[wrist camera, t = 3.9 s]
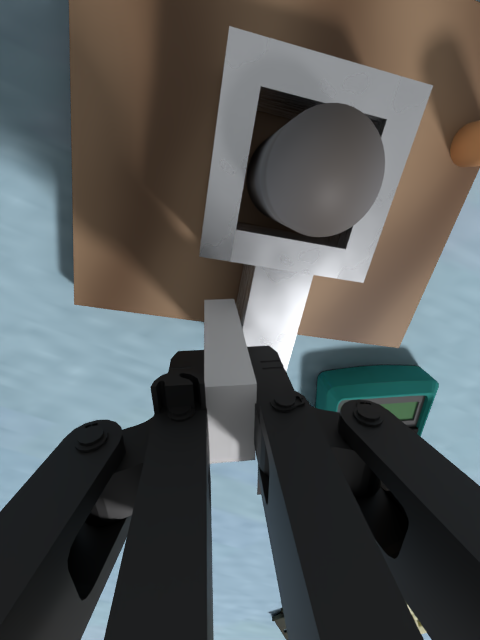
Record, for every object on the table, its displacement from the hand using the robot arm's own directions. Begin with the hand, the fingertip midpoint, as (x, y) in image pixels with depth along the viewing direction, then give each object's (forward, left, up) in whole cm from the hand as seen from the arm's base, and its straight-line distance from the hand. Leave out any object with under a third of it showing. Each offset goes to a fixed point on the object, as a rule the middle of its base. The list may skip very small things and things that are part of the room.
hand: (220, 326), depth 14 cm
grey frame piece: (+2, +4, -2) cm, 5 cm away
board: (+2, +7, -3) cm, 8 cm away
